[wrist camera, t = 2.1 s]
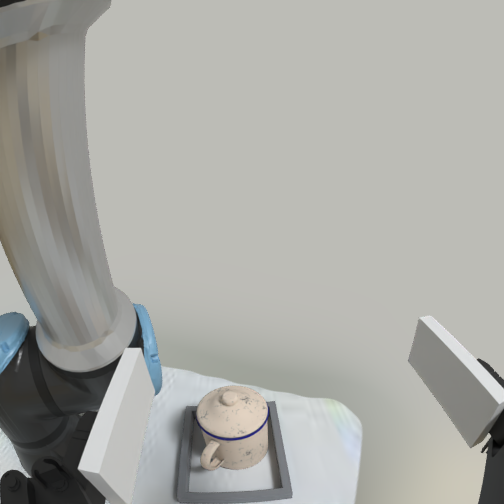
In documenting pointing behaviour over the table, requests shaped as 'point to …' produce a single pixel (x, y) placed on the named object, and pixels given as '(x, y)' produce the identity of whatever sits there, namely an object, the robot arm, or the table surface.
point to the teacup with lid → (233, 427)
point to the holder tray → (220, 501)
